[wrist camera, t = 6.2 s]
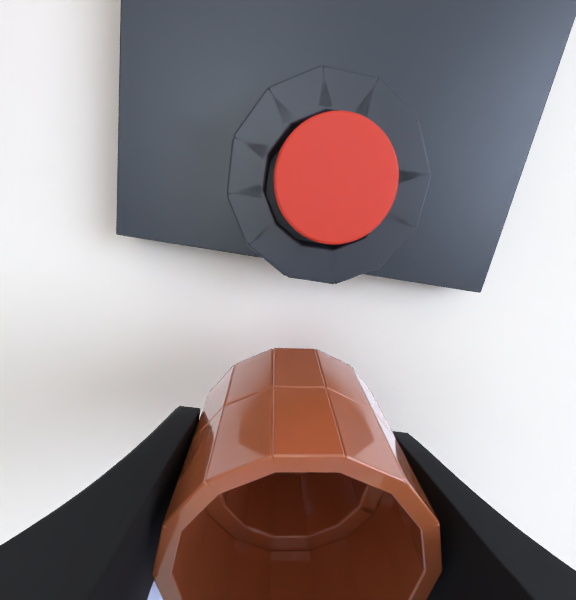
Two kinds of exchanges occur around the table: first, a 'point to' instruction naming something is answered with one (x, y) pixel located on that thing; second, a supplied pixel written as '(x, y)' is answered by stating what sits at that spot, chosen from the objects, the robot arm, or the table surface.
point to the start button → (336, 177)
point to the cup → (296, 493)
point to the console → (333, 97)
